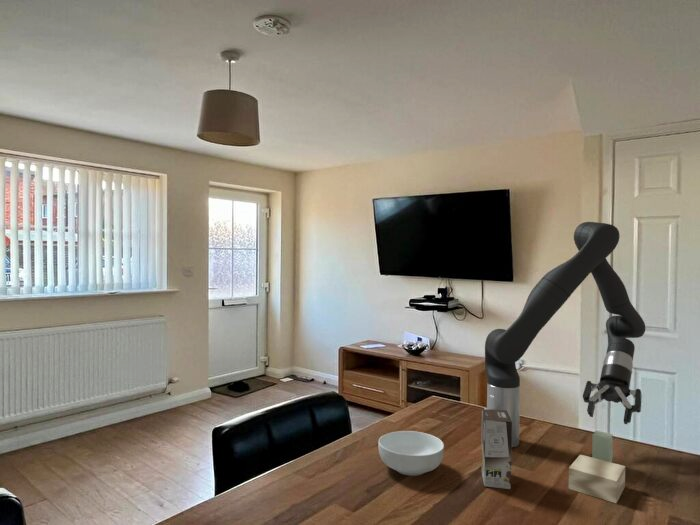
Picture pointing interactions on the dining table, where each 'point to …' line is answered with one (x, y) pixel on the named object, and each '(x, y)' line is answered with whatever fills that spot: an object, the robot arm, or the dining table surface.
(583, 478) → the maple block
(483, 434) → the coffee box
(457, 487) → the dining table surface
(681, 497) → the dining table surface
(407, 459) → the cereal bowl
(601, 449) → the sage block
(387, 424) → the dining table surface
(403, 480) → the dining table surface
